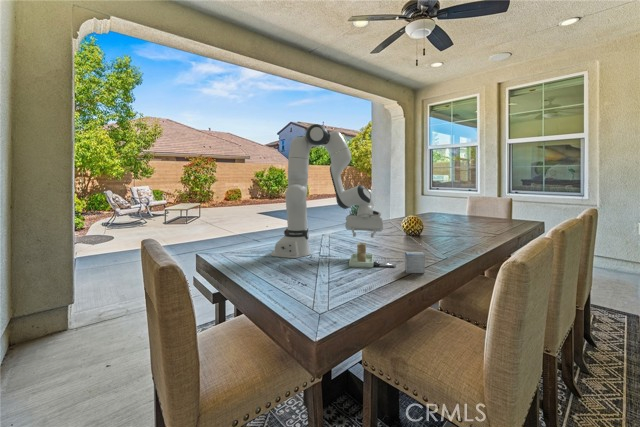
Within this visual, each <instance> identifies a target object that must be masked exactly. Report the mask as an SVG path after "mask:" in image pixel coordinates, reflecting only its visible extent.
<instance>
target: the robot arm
mask: <svg viewBox="0 0 640 427" xmlns="http://www.w3.org/2000/svg"><path fill="white" fill-rule="evenodd" d="M321 146H323V147H324V148H325V149H326V150H327V153H328V155H329V158H330V166H329V172H330V174H329V175H330V178H331V182H332V185H333V189H334V193H335V199H336V203H337V206H339V208H341V209H343V210H347V209H349V208H351V207H353V206H358V208H357V214H347V215H346V216H345V220H346V221H345V225H344V226H345V229H346V230H347V231H351V233H352V237H357V232H355V231H363V232H371V233H370V238H371V239H373V238H374V236H375V235H376V234H377V232H383V230H384V221H383V218H382V213H381V212H380V211H376V210H375V209H374V206H375V196H374V192H373V191H372V190H371V189H368V188H367V187H365V186H363V185H357V186H354V187H352V188H349V189H345V188H344V186H343V182H342V177H341V176H342V172H343V171H344V170H345V169H346V168H347V167H348V165H349V164H350V162H351V160H352V152H351V150H350V148H349V145H348V143H347V141H346V140H345V138H344V136H343V135H342V133H341V132H340V131H337V130H333V131H329V130H328V129H327V128H325V127H324V125H321V124H318V123H317V124H316V123H313V124H311V125H310V126H308V128H307V129H306V132H305V134H304V136H297V137H294V138H293V139H291V141H290V145H289V150H288V159H287V160H288V161H287V189H286V190H285V193H284V196H285V207H286V218H287V219H286V220H287V228H286V229H285V230H284V231H283V234H284V236H283V237H281V238H280V239H279V240H278V241H277V242H276V243H275V246H274V249H273V250H271V252H270V257H277V258H278V257H280V258H289V259H296V258H302V257H307V256H309V255H311V254H312V251H311V247H310V244H309V243H310V242H309V241H310V240H309V236H310V233H309V232H310V231H309V227H308V208H307V196H308V184H309V183H308V182H309V166H310V164H309V163H310V153H311V152H310V151H311V150H312V149H314V148H317V147H321Z"/></svg>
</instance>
